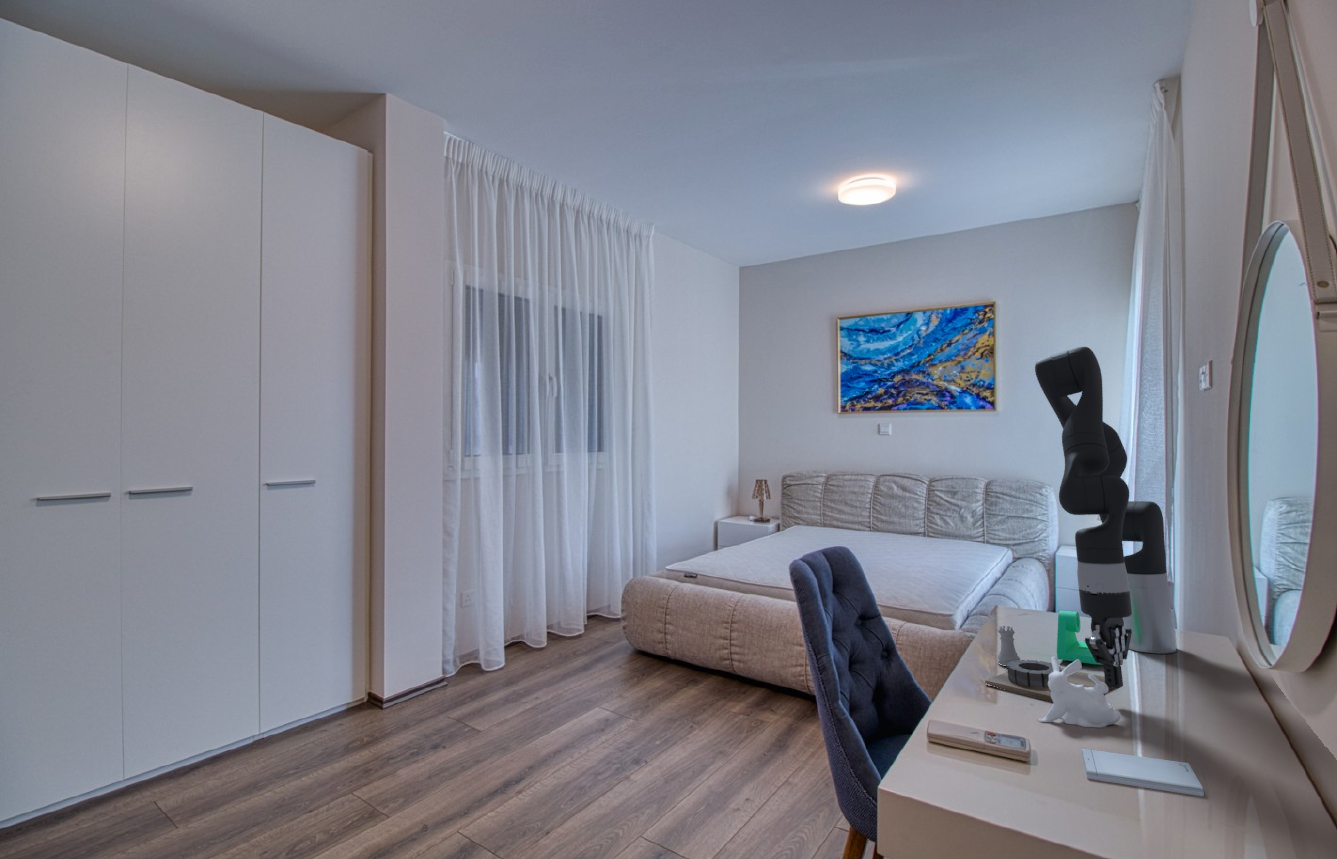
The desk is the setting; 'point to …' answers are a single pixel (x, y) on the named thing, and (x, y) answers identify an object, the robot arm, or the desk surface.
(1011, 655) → the rook chess piece
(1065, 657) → the camera mount
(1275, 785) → the desk surface
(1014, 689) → the socket board
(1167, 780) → the hard drive
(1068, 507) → the robot arm
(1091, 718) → the rabbit figurine
